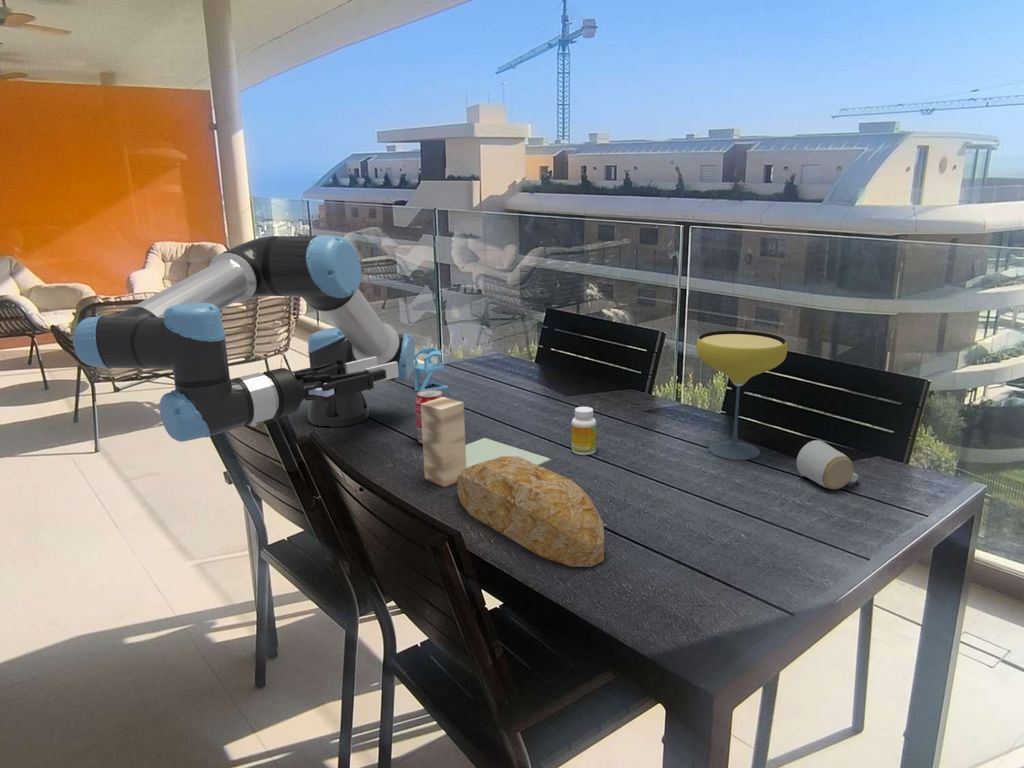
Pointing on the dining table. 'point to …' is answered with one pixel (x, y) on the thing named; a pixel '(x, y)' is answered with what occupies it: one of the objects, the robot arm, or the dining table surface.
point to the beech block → (443, 440)
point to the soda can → (421, 398)
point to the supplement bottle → (583, 431)
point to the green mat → (497, 452)
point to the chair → (428, 369)
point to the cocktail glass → (740, 372)
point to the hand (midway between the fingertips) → (386, 366)
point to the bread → (534, 509)
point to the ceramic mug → (825, 465)
